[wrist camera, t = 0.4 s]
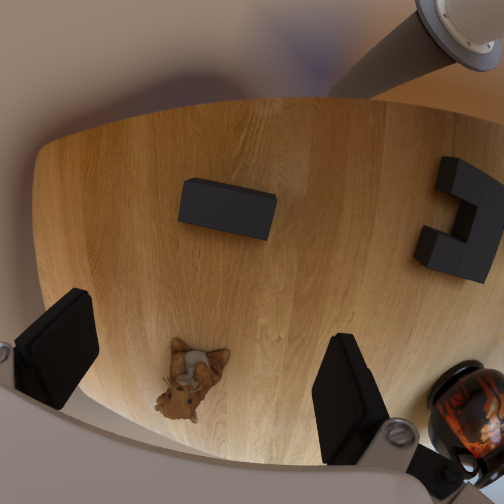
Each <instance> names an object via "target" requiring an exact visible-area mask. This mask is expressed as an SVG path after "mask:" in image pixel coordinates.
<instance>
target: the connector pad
mask: <svg viewBox="0 0 504 504" xmlns="http://www.w3.org/2000/svg"><path fill="white" fill-rule="evenodd" d="M276 203H277V199H276V195H274V194H270V193H266V192H261V191H257V190H252V189H248V188H243V187H239V186H234V185H229V184H224V183H219V182H214V181H209V180H204V179H199V178H191V179H189V180H186V181H184V186H183V192H182V198H181V204H180V210H179V217H178V221H179V222H183V223H188V224H193V225H197V226H202V227H207V228H211V229H216V230H220V231H225V232H230V233H234V234H239V235H243V236H248V237H252V238H257V239H261V240H265V241H267V240H268V235H269V231H270V227H271V223H272V219H273V215H274V211H275V207H276Z"/></svg>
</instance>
